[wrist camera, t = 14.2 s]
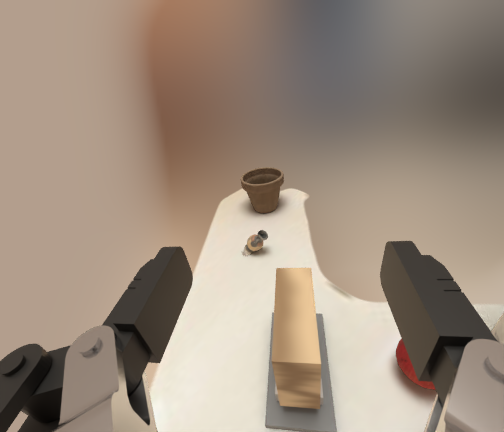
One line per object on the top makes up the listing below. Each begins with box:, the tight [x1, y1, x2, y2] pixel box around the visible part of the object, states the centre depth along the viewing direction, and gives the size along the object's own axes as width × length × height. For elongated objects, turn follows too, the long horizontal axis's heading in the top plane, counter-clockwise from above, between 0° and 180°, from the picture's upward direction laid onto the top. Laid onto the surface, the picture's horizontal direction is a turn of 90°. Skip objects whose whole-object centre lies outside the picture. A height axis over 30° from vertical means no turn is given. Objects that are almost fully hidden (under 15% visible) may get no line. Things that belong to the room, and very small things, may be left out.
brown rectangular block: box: [272, 268, 321, 409], centre depth 31 cm, size 4×12×10 cm, turn 173°
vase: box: [242, 230, 268, 256], centre depth 54 cm, size 5×5×6 cm
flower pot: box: [241, 167, 284, 213], centre depth 69 cm, size 12×11×10 cm
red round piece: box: [396, 339, 436, 390], centre depth 30 cm, size 6×6×8 cm
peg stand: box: [265, 313, 337, 432], centre depth 34 cm, size 8×15×3 cm, turn 173°
